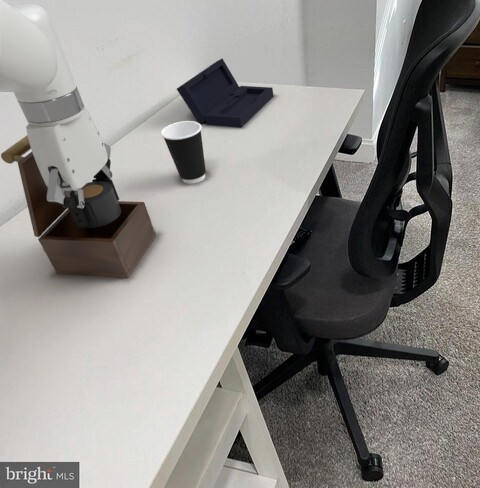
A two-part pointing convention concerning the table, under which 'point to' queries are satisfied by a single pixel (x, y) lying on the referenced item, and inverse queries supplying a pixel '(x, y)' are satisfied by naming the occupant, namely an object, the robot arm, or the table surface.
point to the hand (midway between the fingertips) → (98, 212)
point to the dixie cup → (186, 149)
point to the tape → (101, 201)
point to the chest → (100, 243)
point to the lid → (33, 187)
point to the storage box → (222, 97)
